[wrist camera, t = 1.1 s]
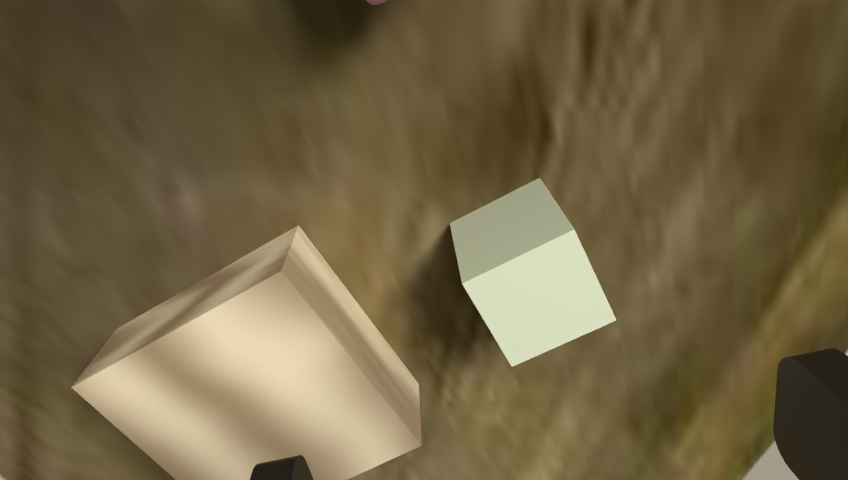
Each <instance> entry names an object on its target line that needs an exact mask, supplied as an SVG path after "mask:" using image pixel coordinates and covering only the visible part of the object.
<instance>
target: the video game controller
mask: <svg viewBox="0 0 848 480" xmlns="http://www.w3.org/2000/svg"><path fill="white" fill-rule="evenodd" d="M366 1H367V2H369V3H370V4H372V5H378V4H381V3H383V2H385V1H387V0H366Z"/></svg>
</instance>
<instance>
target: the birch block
mask: <svg viewBox="0 0 848 480" xmlns="http://www.w3.org/2000/svg"><path fill="white" fill-rule="evenodd" d="M71 388H72V389H74V390H75V391H76V392H77V393H78V394H79V395H80V396H81V397H83V398H84V399H85V400H86V401H87V402H88V403H89V404H91V405H92V406H93V407H94V408H95V409H96V410H97V411H98V412H100V413H101V414H102V415H103V416H104V417H105V418H106V419H108V420H109V421H110V422H111V423H112V424H113V425H114V426H115V427H117V428H118V429H119V430H120V431H121V432H122V433H123V434H125V435H126V436H127V437H128V438H129V439H130V440H131V441H132V442H134V443H135V444H136V445H137V446H138V447H139V448H140V449H142V450H143V451H144V452H145V453H146V454H147V455H148V456H149V457H151V458H152V459H153V460H154V461H155V462H156V463H157V464H159V465H160V466H161V467H162V468H163V469H164V470H165V471H166V472H168V473H169V474H170V475H171V476H172V477H173V478H174V479H176V480H250V477H251V474H252V471H253V469H254V467H255V465H256V464H258V463H263V462H268V461H273V460H278V459H283V458H288V457H293V456H297V455H302V456H303V457H304V458H305V460H306V462H307V464H308V467H309V469H310V472H311V474H312V477H313V480H347V479H349V478H352V477H354V476H356V475H358V474H360V473H363V472H365V471H367V470H369V469H371V468H374V467H376V466H378V465H380V464H382V463H384V462H387V461H389V460H391V459H393V458H395V457H398V456H400V455H402V454H404V453H406V452H409V451H411V450H413V449H415V448H417V447H420V446H422V441H421V421H420V401H419V384H418V382H417V381H416V380H415V379H414V377H413V376H412V375H411V373H410V372H409V371H408V369H407V368H406V367H405V365H404V364H403V363H402V361H401V360H400V359H399V357H398V356H397V355H396V353H395V352H394V351H393V349H392V348H391V347H390V346H389V344H388V343H387V342H386V340H385V339H384V338H383V336H382V335H381V334H380V332H379V331H378V330H377V328H376V327H375V326H374V324H373V323H372V322H371V320H370V319H369V318H368V316H367V315H366V314H365V312H364V311H363V310H362V309H361V307H360V306H359V305H358V303H357V302H356V301H355V299H354V298H353V297H352V295H351V294H350V293H349V291H348V290H347V289H346V287H345V286H344V285H343V283H342V282H341V281H340V279H339V278H338V277H337V276H336V274H335V273H334V272H333V270H332V269H331V268H330V266H329V265H328V264H327V262H326V261H325V260H324V258H323V257H322V256H321V254H320V253H319V252H318V250H317V249H316V248H315V246H314V245H313V244H312V243H311V241H310V240H309V239H308V237H307V236H306V235H305V233H304V232H303V231H302V229H301V228H300V227H299V225H298V226H296V227H295V228H293V229H291V230H289V231H288V232H286V233H284V234H282V235H281V236H279V237H277V238H275V239H274V240H272V241H270V242H268V243H267V244H265V245H263V246H261V247H260V248H258V249H256V250H254V251H253V252H251V253H249V254H247V255H246V256H244V257H242V258H240V259H238V260H237V261H235V262H233V263H231V264H230V265H228V266H226V267H224V268H223V269H221V270H219V271H217V272H216V273H214V274H212V275H210V276H209V277H207V278H205V279H203V280H202V281H200V282H198V283H196V284H195V285H193V286H191V287H189V288H188V289H186V290H184V291H182V292H181V293H179V294H177V295H175V296H173V297H172V298H170V299H168V300H166V301H165V302H163V303H161V304H159V305H158V306H156V307H154V308H152V309H151V310H149V311H147V312H145V313H144V314H142V315H140V316H138V317H137V318H135V319H133V320H131V321H130V322H128V323H126V324H124V325H123V326H121V327H119V328H117V329H116V330H115V331H114V332H113V334H112V335H111V336H110V338H109V339H108V340H107V341H106V343H105V344H104V345H103V347H102V348H101V349H100V351H99V352H98V353H97V354H96V356H95V357H94V358H93V360H92V361H91V362H90V364H89V365H88V366H87V367H86V369H85V370H84V371H83V373H82V374H81V375H80V377H79V378H78V379H77V380H76V382H75V383H74V384H73V386H72V387H71Z"/></svg>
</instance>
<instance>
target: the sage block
mask: <svg viewBox="0 0 848 480" xmlns="http://www.w3.org/2000/svg"><path fill="white" fill-rule="evenodd" d="M450 227H451V232H452V237H453V242H454V247H455V252H456V257H457V262H458V267H459V271H460V276H461V281H462V284H463V286H464V288H465V289H466V291H467V293H468V294H469V296H470V298H471V300H472V301H473V303H474V305H475V306H476V308H477V310H478V311H479V313H480V315H481V316H482V318H483V320H484V321H485V323H486V325H487V326H488V328H489V330H490V331H491V333H492V335H493V336H494V338H495V340H496V341H497V343H498V345H499V346H500V348H501V350H502V351H503V353H504V355H505V356H506V358H507V360H508V361H509V363H510V365H511V366H512V367H513V366H515V365H517V364H519V363H522V362H524V361H526V360H528V359H531V358H533V357H535V356H537V355H540V354H542V353H544V352H546V351H549V350H551V349H553V348H555V347H558V346H560V345H562V344H564V343H567V342H569V341H571V340H573V339H576V338H578V337H580V336H582V335H585V334H587V333H589V332H591V331H593V330H596V329H598V328H600V327H602V326H605V325H607V324H609V323H611V322H614V321H616V318H615V316H614V314H613V312H612V310H611V307H610V305H609V303H608V301H607V299H606V297H605V294H604V292H603V290H602V288H601V286H600V284H599V282H598V279H597V277H596V275H595V273H594V271H593V269H592V267H591V264H590V262H589V260H588V258H587V256H586V254H585V251H584V249H583V247H582V245H581V243H580V241H579V239H578V236H577V234H576V232H575V230H574V228H573V227H572V225H571V224H570V222H569V221H568V219H567V218H566V216H565V215H564V213H563V212H562V210H561V209H560V207H559V206H558V204H557V203H556V201H555V200H554V198H553V197H552V195H551V194H550V192H549V191H548V189H547V188H546V186H545V185H544V183H543V182H542V180H541V179H540V178H538V179H536V180H535V181H533V182H531V183H529V184H527V185H525V186H523V187H521V188H519V189H517V190H515V191H513V192H511V193H509V194H507V195H505V196H503V197H501V198H499V199H497V200H495V201H493V202H491V203H489V204H487V205H485V206H483V207H481V208H479V209H477V210H475V211H473V212H471V213H469V214H467V215H465V216H463V217H461V218H459V219H457V220H455V221H454V222H452V223H450Z"/></svg>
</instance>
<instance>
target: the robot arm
mask: <svg viewBox="0 0 848 480" xmlns="http://www.w3.org/2000/svg"><path fill="white" fill-rule="evenodd" d="M774 437H775V441H776V444H777V446H778V449H779V451H780V454H781V456H782V457H783V459H784V461H785V462H786V464H787V465H788V467H789V468H790V469H791V471H792V472H793V473H794V474H795V475H796V476H797V478H798V479H799V480H848V356H847V355H845V354H844V353H842V352H841V351H839V350H836V349H826V350H821V351H816V352H811V353H806V354H801V355H796V356H791V357H787V358H783V359H782V360H781V361H780V363H779V365H778V372H777V386H776V399H775V413H774ZM250 480H313V477H312V474H311V472H310V469H309V467H308V464H307V462H306V460H305V458H304V457H303V456H302V455H297V456H293V457H288V458H283V459H278V460H273V461H268V462H263V463H258V464H256V465H255V467H254V469H253V471H252V474H251V477H250Z"/></svg>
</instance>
